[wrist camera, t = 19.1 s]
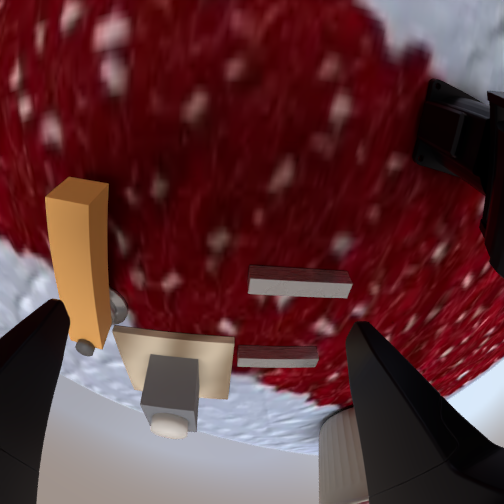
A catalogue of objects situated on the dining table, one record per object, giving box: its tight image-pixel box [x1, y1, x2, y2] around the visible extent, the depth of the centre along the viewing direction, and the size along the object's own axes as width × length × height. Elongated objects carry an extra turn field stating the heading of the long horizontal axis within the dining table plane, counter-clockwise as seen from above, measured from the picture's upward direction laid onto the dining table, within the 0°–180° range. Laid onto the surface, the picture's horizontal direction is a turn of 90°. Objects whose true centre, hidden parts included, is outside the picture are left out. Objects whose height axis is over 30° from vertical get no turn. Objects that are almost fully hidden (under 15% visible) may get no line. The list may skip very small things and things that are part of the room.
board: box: [112, 325, 234, 399], centre depth 30 cm, size 12×12×1 cm
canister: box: [319, 407, 369, 504], centre depth 33 cm, size 18×18×21 cm
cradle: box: [109, 265, 352, 367], centre depth 25 cm, size 24×12×2 cm, turn 83°
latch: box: [45, 177, 112, 356], centre depth 18 cm, size 14×3×4 cm, turn 164°
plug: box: [140, 354, 200, 439], centre depth 27 cm, size 5×6×8 cm
